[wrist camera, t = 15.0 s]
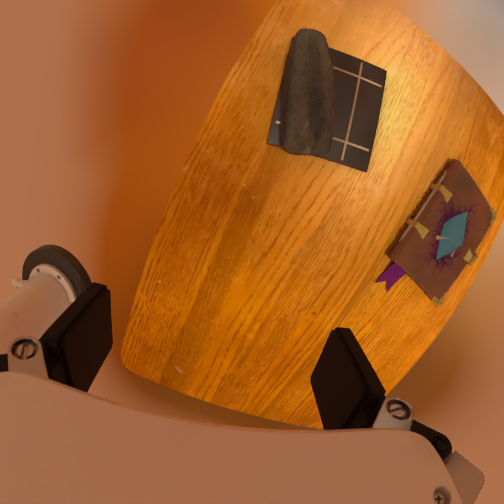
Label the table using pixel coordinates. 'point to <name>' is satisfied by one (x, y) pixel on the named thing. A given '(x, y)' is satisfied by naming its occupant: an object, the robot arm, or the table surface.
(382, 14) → the table surface
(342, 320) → the table surface
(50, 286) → the robot arm
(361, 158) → the board
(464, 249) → the book
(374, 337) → the table surface
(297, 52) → the decorative stone
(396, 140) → the table surface
